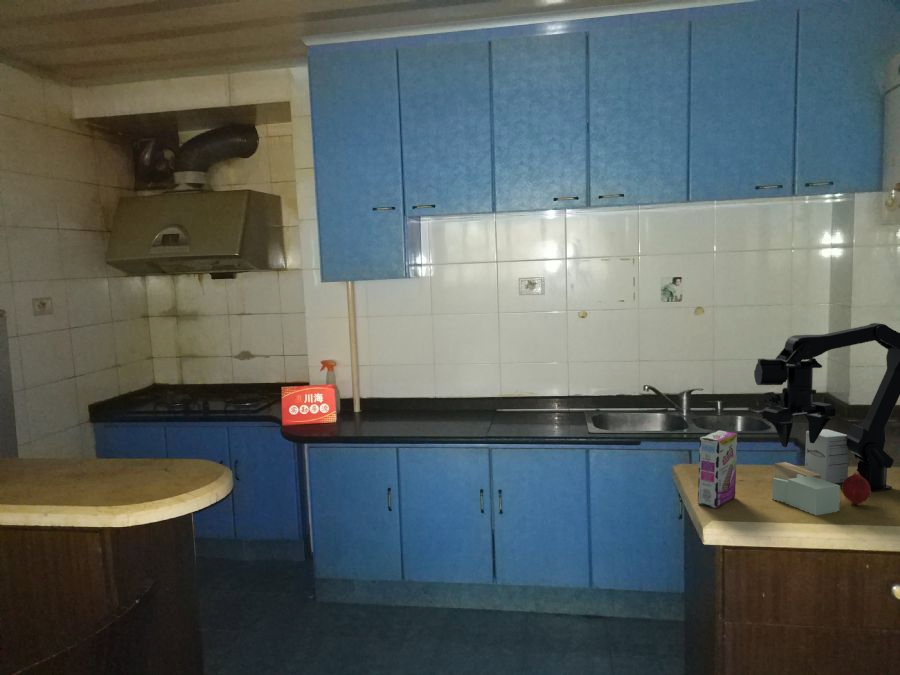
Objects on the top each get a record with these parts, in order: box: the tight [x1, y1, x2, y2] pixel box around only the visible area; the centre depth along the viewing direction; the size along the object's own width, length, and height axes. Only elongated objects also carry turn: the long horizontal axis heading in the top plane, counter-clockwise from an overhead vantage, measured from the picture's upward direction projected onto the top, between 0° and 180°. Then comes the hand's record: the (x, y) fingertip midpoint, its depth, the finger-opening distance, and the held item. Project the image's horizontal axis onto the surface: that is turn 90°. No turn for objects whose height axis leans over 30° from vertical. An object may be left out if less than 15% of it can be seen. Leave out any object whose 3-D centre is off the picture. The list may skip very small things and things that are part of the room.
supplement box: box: [804, 428, 850, 484], centre depth 171 cm, size 7×7×13 cm
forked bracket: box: [771, 474, 841, 516], centre depth 152 cm, size 9×12×6 cm
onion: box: [841, 470, 872, 505], centre depth 152 cm, size 6×6×8 cm
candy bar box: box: [697, 430, 738, 509], centre depth 156 cm, size 11×5×16 cm, turn 134°
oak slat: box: [773, 461, 821, 480], centre depth 167 cm, size 4×12×4 cm, turn 13°
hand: (798, 444), depth 166 cm, fingers open, 9 cm apart
